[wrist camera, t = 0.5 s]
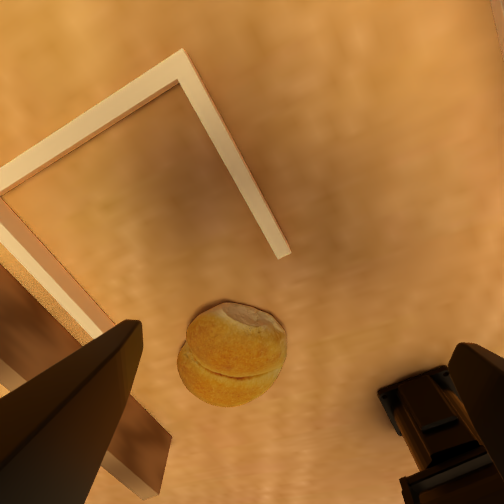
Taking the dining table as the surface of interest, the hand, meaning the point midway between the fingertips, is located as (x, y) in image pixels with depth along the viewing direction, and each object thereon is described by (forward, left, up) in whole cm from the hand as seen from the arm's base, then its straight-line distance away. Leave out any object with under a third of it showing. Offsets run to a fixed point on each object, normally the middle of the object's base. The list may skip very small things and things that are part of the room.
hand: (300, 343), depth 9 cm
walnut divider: (-5, +19, -13) cm, 24 cm away
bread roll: (-9, +8, -14) cm, 18 cm away
